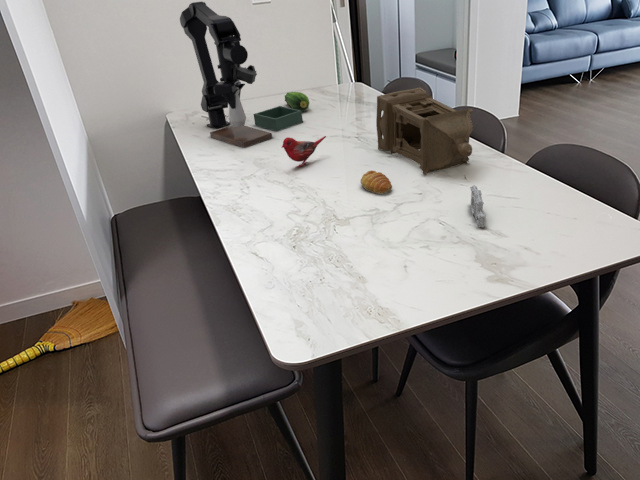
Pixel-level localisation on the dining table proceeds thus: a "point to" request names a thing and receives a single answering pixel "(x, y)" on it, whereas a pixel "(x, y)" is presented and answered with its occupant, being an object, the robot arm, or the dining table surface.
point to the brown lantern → (423, 129)
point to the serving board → (241, 135)
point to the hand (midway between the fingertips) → (235, 108)
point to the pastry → (376, 182)
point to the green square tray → (278, 118)
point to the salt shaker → (237, 113)
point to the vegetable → (297, 100)
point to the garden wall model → (477, 206)
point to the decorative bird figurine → (299, 149)
